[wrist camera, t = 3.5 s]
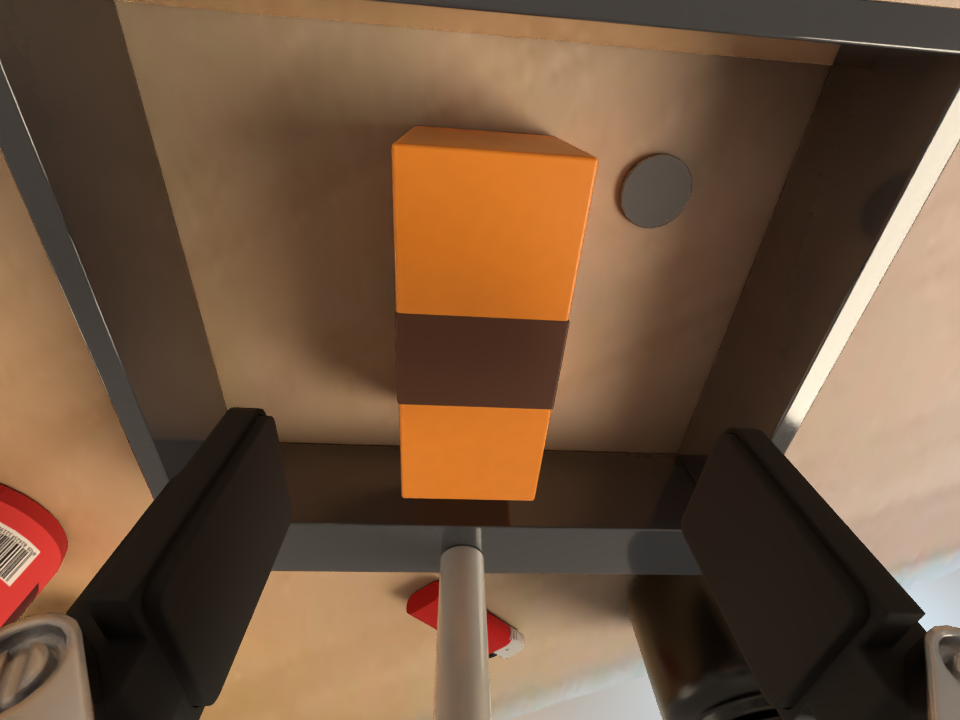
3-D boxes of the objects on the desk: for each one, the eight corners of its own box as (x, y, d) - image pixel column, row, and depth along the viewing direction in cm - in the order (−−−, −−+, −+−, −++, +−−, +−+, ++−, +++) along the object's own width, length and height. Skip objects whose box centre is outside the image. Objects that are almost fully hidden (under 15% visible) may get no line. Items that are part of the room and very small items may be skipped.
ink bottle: (640, 641, 31) (728, 913, 21) (598, 574, 27) (683, 874, 17) (785, 600, 29) (962, 879, 19) (763, 520, 25) (976, 823, 15)
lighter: (440, 597, 25) (526, 649, 29) (441, 577, 27) (524, 629, 30) (405, 617, 26) (492, 665, 30) (407, 596, 27) (491, 645, 31)
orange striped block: (412, 125, 14) (388, 142, 10) (556, 136, 15) (602, 158, 10) (414, 403, 20) (400, 499, 15) (518, 407, 20) (535, 502, 16)
